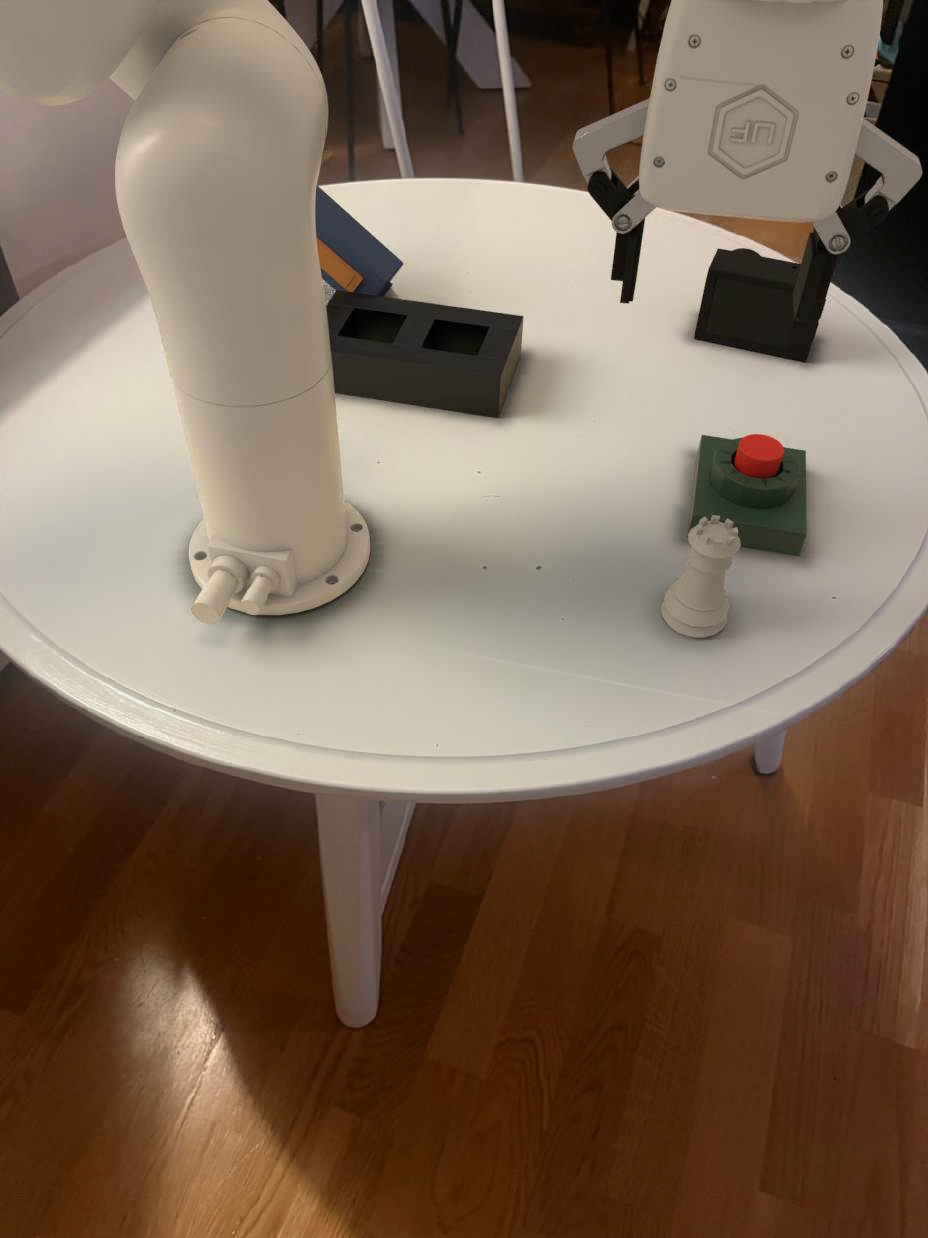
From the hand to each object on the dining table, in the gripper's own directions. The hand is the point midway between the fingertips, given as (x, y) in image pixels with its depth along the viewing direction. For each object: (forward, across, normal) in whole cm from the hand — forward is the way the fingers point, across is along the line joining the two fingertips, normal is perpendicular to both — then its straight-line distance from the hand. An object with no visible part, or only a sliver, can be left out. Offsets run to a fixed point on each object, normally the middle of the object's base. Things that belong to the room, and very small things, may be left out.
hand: (712, 300), depth 55 cm
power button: (+16, +6, +8) cm, 19 cm away
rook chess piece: (+20, +3, -5) cm, 21 cm away
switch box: (+20, +6, +8) cm, 22 cm away
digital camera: (+20, +7, +32) cm, 39 cm away
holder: (+20, -23, +19) cm, 36 cm away
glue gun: (+20, -37, +30) cm, 52 cm away
